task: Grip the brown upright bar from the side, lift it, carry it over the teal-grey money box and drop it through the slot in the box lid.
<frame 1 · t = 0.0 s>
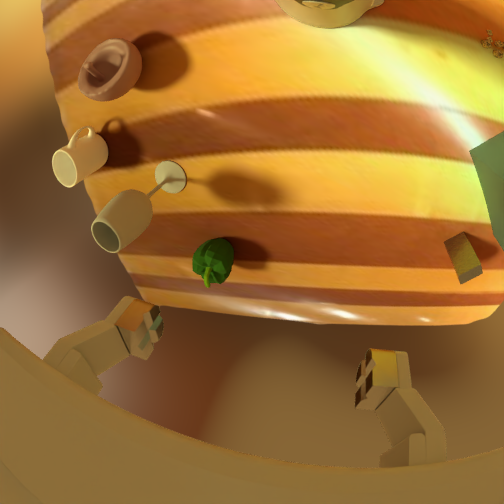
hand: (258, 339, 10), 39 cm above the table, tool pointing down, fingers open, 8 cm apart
mug: (97, 142, 51), on the table
mortar and pestle: (130, 65, 38), on the table
brown upright bar: (455, 241, 44), on the table
dice set: (491, 45, 19), on the table
bell pepper: (221, 246, 61), on the table
wineglass: (170, 176, 52), on the table
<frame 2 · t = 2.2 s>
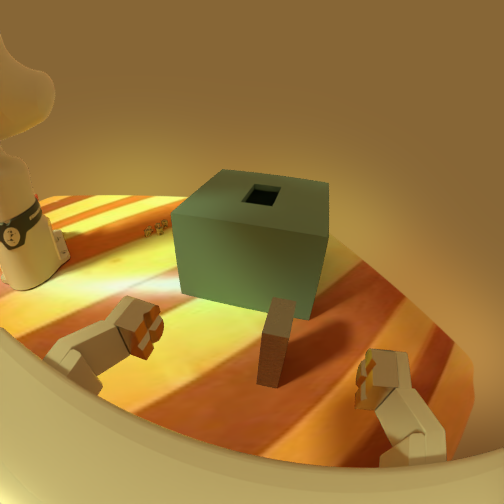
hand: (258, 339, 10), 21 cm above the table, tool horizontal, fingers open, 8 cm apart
brown upright bar: (271, 369, 32), on the table
coin box: (257, 268, 49), on the table
dice set: (156, 234, 59), on the table
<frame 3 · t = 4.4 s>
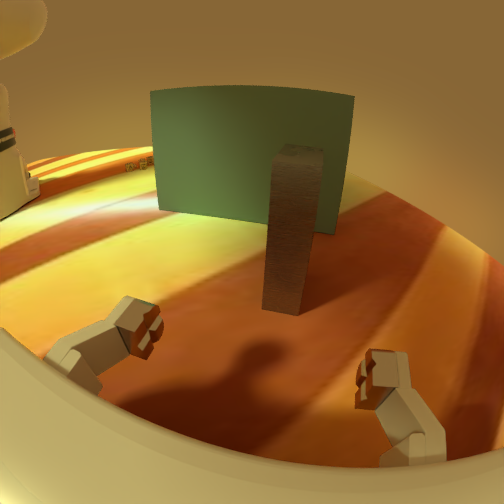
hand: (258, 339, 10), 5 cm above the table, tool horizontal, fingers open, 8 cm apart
brown upright bar: (285, 289, 20), on the table
coin box: (260, 188, 37), on the table
dice set: (140, 171, 48), on the table
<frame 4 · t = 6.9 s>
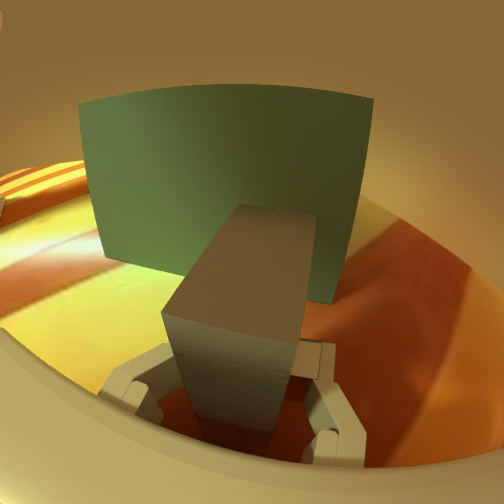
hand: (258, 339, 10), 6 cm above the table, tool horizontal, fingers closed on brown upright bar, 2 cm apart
brown upright bar: (249, 415, 12), on the table, touching gripper
coin box: (238, 222, 29), on the table
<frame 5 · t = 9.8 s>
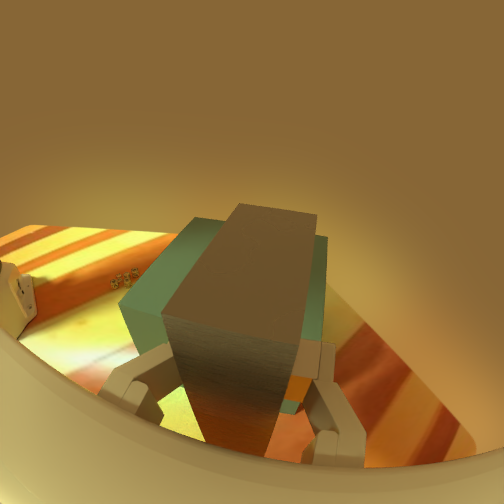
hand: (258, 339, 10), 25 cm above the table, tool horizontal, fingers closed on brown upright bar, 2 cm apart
brown upright bar: (248, 416, 12), point 19 cm above the table, touching gripper
coin box: (238, 341, 39), on the table
dice set: (126, 284, 50), on the table
when the fingers open (19 cm above the table, at t = 12.6 s): brown upright bar drops 11 cm and tips over, resting on coin box.
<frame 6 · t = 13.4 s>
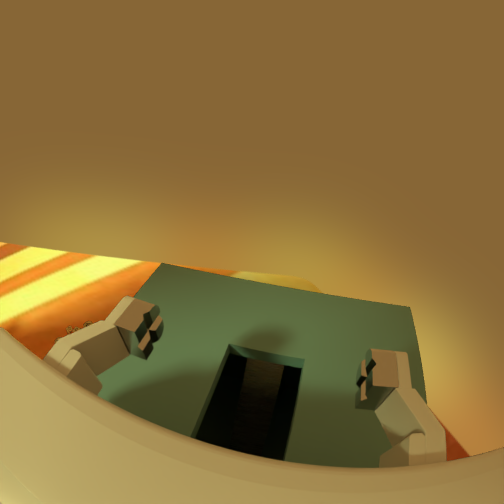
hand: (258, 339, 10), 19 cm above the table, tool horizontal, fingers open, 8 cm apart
brown upright bar: (246, 452, 19), point 3 cm above the table, tilted 41°, touching coin box
coin box: (245, 463, 20), on the table
dice set: (78, 344, 30), on the table
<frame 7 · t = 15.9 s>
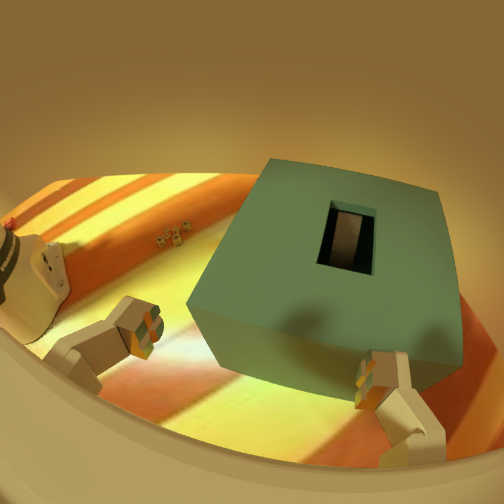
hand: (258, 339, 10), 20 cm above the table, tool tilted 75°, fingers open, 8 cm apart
brown upright bar: (331, 299, 31), point 3 cm above the table, tilted 41°, touching coin box
coin box: (327, 314, 32), on the table
dice set: (175, 241, 44), on the table
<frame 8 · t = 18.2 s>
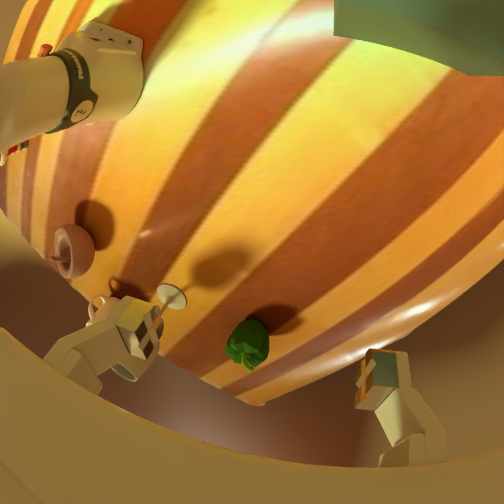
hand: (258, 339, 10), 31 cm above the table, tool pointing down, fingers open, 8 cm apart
mug: (117, 302, 66), on the table
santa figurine: (23, 143, 46), on the table
mortar and pestle: (87, 237, 56), on the table
bell pepper: (253, 326, 57), on the table
wineglass: (172, 296, 58), on the table
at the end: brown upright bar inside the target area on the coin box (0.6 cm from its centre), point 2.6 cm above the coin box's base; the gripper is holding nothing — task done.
